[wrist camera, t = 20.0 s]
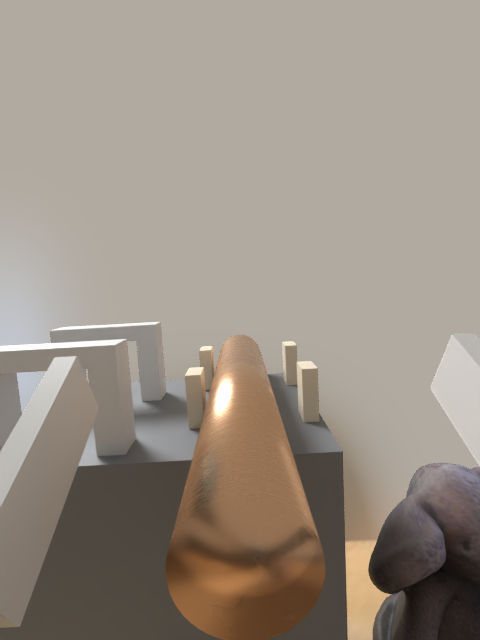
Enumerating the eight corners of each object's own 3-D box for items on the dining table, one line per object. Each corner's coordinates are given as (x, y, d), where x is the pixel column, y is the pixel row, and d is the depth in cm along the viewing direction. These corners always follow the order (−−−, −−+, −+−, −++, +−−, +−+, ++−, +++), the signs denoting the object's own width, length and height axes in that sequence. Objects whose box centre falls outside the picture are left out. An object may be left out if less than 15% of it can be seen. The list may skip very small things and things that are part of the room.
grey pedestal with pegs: (13, 902, 21) (-73, 358, 18) (109, 637, 37) (75, 322, 34) (353, 885, 21) (339, 335, 18) (304, 627, 37) (291, 310, 34)
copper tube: (335, 630, 9) (314, 484, 8) (180, 652, 9) (152, 508, 8) (263, 371, 35) (257, 331, 34) (223, 377, 35) (217, 338, 34)
